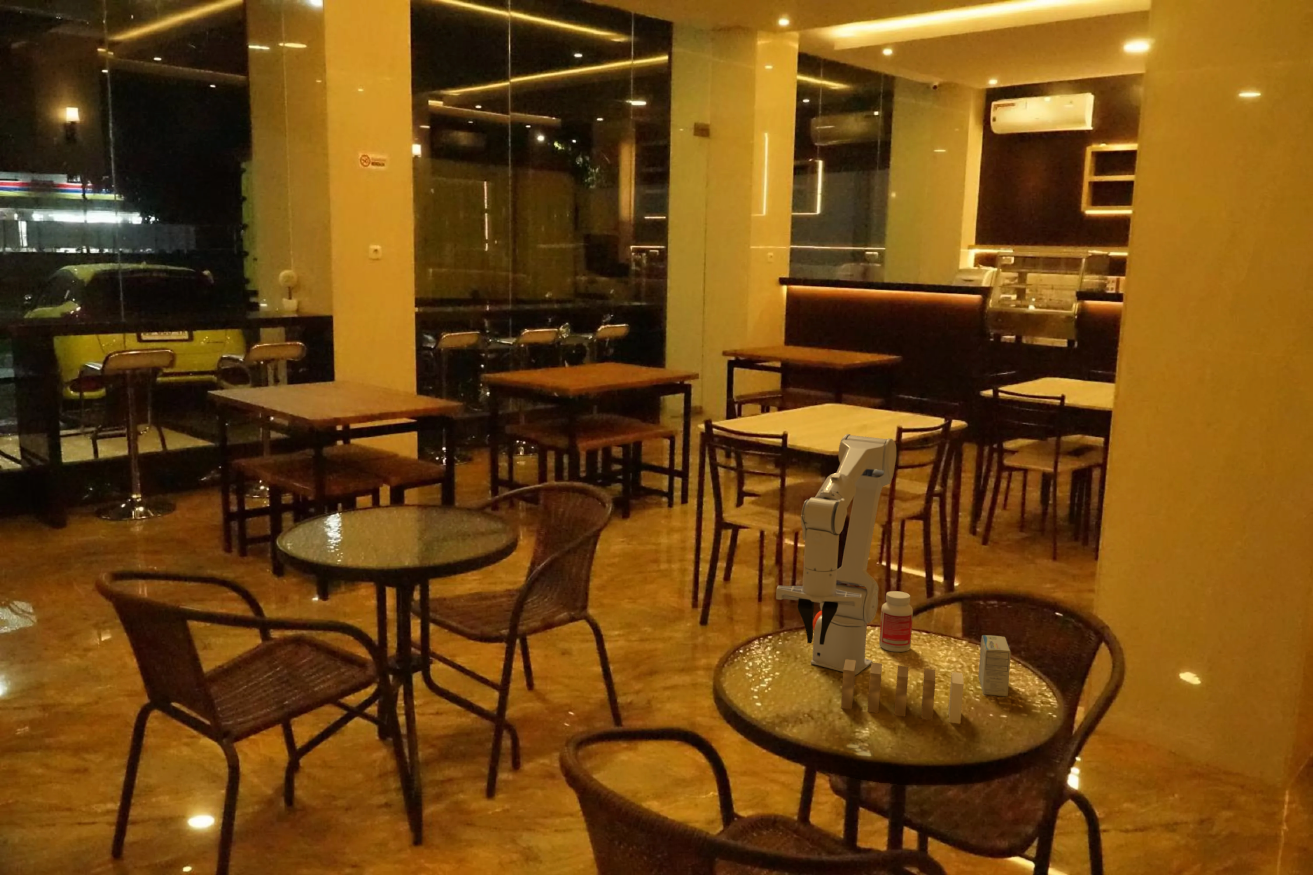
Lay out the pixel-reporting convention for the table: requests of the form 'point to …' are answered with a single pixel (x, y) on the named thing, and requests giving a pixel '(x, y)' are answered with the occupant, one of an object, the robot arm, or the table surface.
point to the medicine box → (994, 665)
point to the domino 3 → (901, 691)
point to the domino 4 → (928, 694)
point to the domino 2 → (874, 687)
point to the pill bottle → (896, 622)
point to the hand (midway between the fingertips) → (816, 641)
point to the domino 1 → (848, 684)
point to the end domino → (956, 697)
